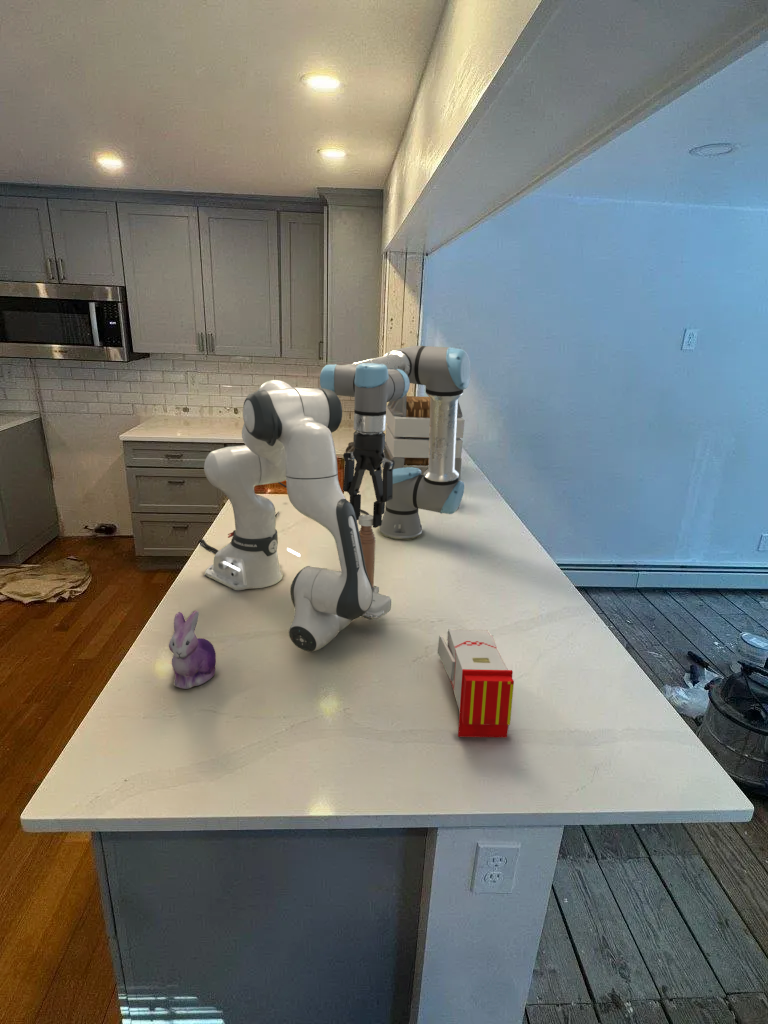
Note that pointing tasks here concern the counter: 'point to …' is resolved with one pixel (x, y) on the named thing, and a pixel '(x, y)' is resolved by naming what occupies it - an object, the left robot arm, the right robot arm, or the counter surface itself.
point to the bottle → (368, 550)
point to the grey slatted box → (414, 432)
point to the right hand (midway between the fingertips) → (366, 522)
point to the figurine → (191, 653)
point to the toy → (478, 682)
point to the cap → (365, 520)
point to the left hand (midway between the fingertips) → (365, 585)
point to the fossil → (350, 447)
